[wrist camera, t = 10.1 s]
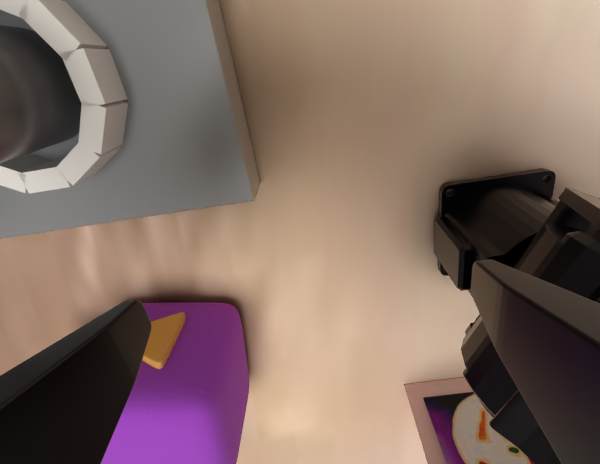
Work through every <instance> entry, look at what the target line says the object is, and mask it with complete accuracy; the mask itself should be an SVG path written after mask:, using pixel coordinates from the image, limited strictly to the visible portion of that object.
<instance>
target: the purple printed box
mask: <svg viewBox="0 0 600 464" xmlns="http://www.w3.org/2000/svg"><path fill="white" fill-rule="evenodd" d="M404 386H405V389H406V392H407V396H408V399H409V402H410V406H411V409H412V412H413V416H414V419H415V422H416V426H417V429H418V432H419V436H420V439H421V442H422V446H423V449H424V452H425V456H426V459H427V462H428V464H535V463H534V462H533V461H532V460H530V459H529V458H528V457H527V456H526V455H525V454H524V453H523V452H522V451H521V450H520V449H519V448H518V447H516V446H515V445H514V444H512V443H511V442H510V441H508V440H507V439H506V438H504V437H503V436H502V435H500V434H499V433H497V432H496V431H495V430H494V429H492V427H491V426H490V424H489V422H490V420H491V419H492V418H493V417H492V416H491V415H490V414H489V413H488V411H487V410H486V409H485V408H484V406H483V405H482V404H481V402H480V401H479V399H478V398H477V396H476V395H475V394H474V392H473V391H472V389H471V387H470V386H469V384H468V383H467V381H466V379H465V377H460V378H452V379H444V380H436V381H427V382H419V383H411V384H404Z"/></svg>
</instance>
